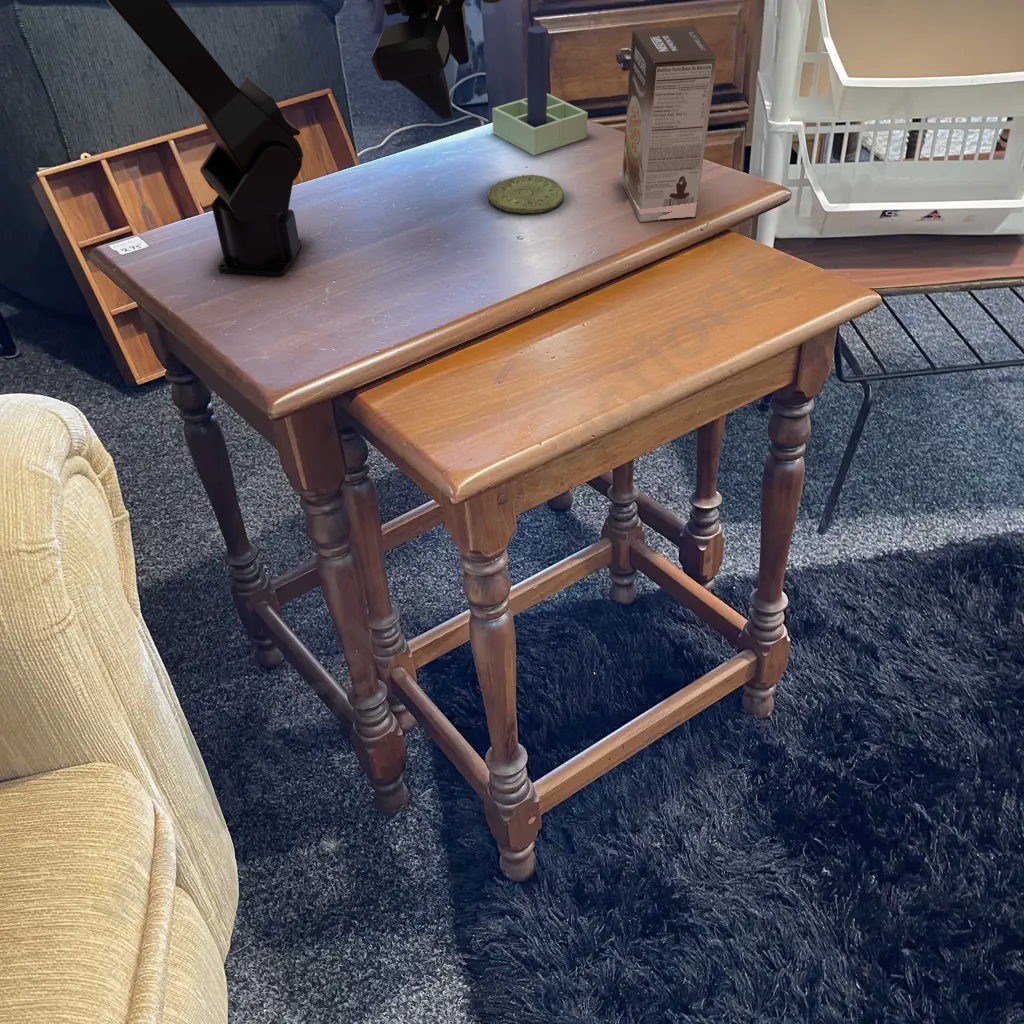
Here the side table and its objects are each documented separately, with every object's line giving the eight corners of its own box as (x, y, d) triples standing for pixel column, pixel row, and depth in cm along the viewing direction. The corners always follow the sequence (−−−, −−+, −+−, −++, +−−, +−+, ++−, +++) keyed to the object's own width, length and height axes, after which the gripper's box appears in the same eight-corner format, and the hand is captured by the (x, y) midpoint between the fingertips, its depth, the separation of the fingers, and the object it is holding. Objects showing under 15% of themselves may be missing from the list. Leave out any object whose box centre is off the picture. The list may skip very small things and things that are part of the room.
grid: (533, 155, 113) (533, 129, 111) (492, 133, 118) (492, 108, 115) (586, 137, 116) (587, 112, 114) (545, 116, 121) (545, 92, 119)
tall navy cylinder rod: (533, 144, 114) (533, 33, 105) (524, 137, 115) (523, 27, 107) (549, 140, 114) (551, 30, 106) (540, 133, 116) (541, 24, 107)
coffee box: (619, 184, 107) (629, 27, 96) (676, 180, 108) (693, 23, 97) (638, 223, 101) (652, 60, 90) (699, 219, 101) (720, 56, 90)
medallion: (578, 194, 105) (578, 188, 105) (530, 221, 101) (530, 214, 100) (521, 173, 109) (521, 167, 109) (473, 198, 105) (472, 192, 104)
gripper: (466, -41, 77) (521, 133, 89) (501, -148, 87) (547, 21, 99) (338, -10, 80) (408, 153, 92) (387, -117, 91) (444, 43, 103)
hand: (456, 89), depth 96 cm, fingers open, 9 cm apart
